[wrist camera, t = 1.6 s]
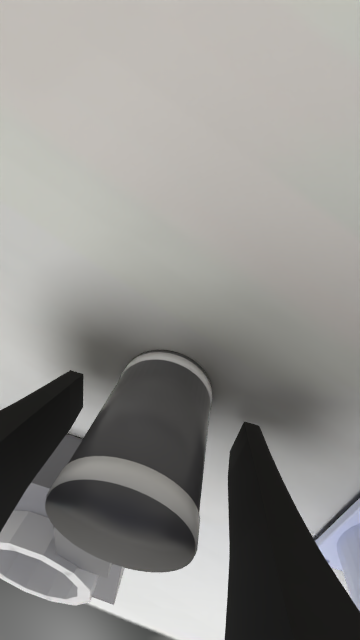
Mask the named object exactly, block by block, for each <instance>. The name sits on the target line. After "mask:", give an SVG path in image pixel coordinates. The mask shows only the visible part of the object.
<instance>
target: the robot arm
mask: <svg viewBox="0 0 360 640" xmlns="http://www.w3.org/2000/svg"><path fill="white" fill-rule="evenodd" d="M82 408H83V374H81V373H77V372H74V371H71V370H70V371H69V372H67V373H65V374H63V375H62V376H60V377H58V378H57V379H55V380H53V381H52V382H50V383H48V384H47V385H45V386H43V387H42V388H40V389H38V390H37V391H35V392H33V393H31V394H30V395H28V396H26V397H24V398H23V399H21V400H19V401H17V402H15V403H14V404H12V405H10V406H8V407H6V408H4V409H2V410H0V532H1V531H2V529H3V527H4V525H5V524H6V522H7V520H8V519H9V517H10V515H11V514H12V512H13V511H14V509H15V507H16V506H17V504H18V502H19V501H20V499H21V498H22V496H23V494H24V493H25V491H26V489H27V488H28V487H29V485H30V484H31V482H32V481H33V479H34V478H35V476H36V475H37V474H38V472H39V471H40V470H41V468H42V467H43V466H44V464H45V463H46V461H47V460H48V459H49V457H50V456H51V455H52V453H53V452H54V451H55V449H56V448H57V446H58V445H59V444H60V442H61V441H62V440H63V438H64V437H65V435H66V434H67V433H68V431H69V430H70V428H71V427H72V425H73V423H74V422H75V420H76V418H77V416H78V415H79V413H80V411H81V409H82ZM228 502H229V537H230V560H229V580H228V598H227V614H226V630H225V640H360V498H359V499H358V500H357V501H356V502H355V503H354V504H353V505H352V506H351V507H350V508H349V509H348V510H347V511H346V512H345V513H344V514H343V515H341V516H340V517H339V518H338V519H337V520H336V521H335V522H334V523H333V524H332V525H331V526H330V527H329V528H328V529H327V530H326V531H325V532H324V533H323V534H322V535H321V536H320V537H319V538H318V539H317V540H316V541H314V539H313V537H312V535H311V534H310V532H309V530H308V528H307V527H306V525H305V523H304V521H303V519H302V517H301V516H300V514H299V512H298V510H297V508H296V506H295V504H294V502H293V500H292V498H291V496H290V494H289V492H288V490H287V488H286V486H285V484H284V482H283V480H282V478H281V476H280V473H279V471H278V469H277V467H276V465H275V462H274V460H273V458H272V456H271V453H270V451H269V449H268V446H267V444H266V441H265V439H264V436H263V434H262V431H261V429H260V427H259V426H258V425H255V424H251V423H248V422H244V423H243V425H242V427H241V429H240V432H239V434H238V436H237V438H236V440H235V442H234V444H233V446H232V448H231V450H230V457H229V470H228ZM331 567H332V568H335V569H338V570H341V571H343V573H344V576H345V580H346V583H347V586H348V590H349V593H350V596H351V598H350V596H349V595H348V593H347V592H346V590H345V589H344V587H343V586H342V584H341V583H340V581H339V580H338V578H337V577H336V575H335V573H334V572H333V570H332V569H331Z"/></svg>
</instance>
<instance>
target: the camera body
mask: <svg viewBox="0 0 360 640" xmlns="http://www.w3.org/2000/svg"><path fill="white" fill-rule="evenodd" d="M82 440H83V439H81V438H78V437H75V436H72V435H69V434H66V435H65V437H64V438H63V440H62V441H61V442H60V444H59V445H58V446H57V448H56V449H55V451H54V452H53V453H52V455H51V456H50V457H49V459H48V460H47V461H46V463H45V464H44V466H43V467H42V468H41V470H40V471H39V472H38V474H37V475H36V476H35V478H34V479H33V481H32V482H31V484H30V485H29V487H28V488H27V489H26V491H25V493H24V494H23V496H22V498H21V499H20V501H19V502H18V504H17V506H16V507H15V509H14V511H13V512H12V514H11V515H10V517H9V519H8V520H7V522H6V524H5V525H4V527H3V529H2V531H1V532H0V578H1V579H3V580H4V581H6V582H8V583H10V584H12V585H14V586H15V587H17V588H19V589H21V590H23V591H25V592H27V593H30V594H33V595H36V596H38V597H41V598H44V599H46V600H49V601H53V602H58V603H64V604H70V605H79V604H83V603H88V602H90V600H91V597H94V598H97V599H99V600H102V601H105V602H108V603H110V604H113V605H114V603H115V599H116V596H117V592H118V589H119V585H120V582H121V578H122V575H123V571H124V568H125V567H121V566H118V565H115V564H112V563H109V562H106V561H104V560H102V559H99V558H97V557H95V556H93V555H91V554H89V553H87V552H85V551H84V550H82V549H80V548H79V547H77V546H76V545H74V544H73V543H71V542H70V541H69V540H67V539H66V538H65V537H64V536H63V535H62V534H61V533H60V532H59V531H58V530H57V529H56V528H55V527H54V526H53V524H52V523H51V521H50V520H49V518H48V516H47V514H46V510H45V502H46V496H47V493H48V492H49V490H50V488H51V487H52V485H53V484H54V482H55V480H56V479H57V477H58V476H59V474H60V472H61V471H62V469H63V468H64V467H65V466H66V465H67V464H68V463H69V461H70V459H71V458H72V456H73V454H74V453H75V451H76V450H77V448H78V446H79V445H80V443H81V442H82Z"/></svg>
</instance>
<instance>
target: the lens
mask: <svg viewBox="0 0 360 640" xmlns="http://www.w3.org/2000/svg"><path fill="white" fill-rule="evenodd" d="M211 404H212V389H211V384H210V381H209V378H208V376H207V375H206V373H205V372H204V370H203V369H202V368H201V367H200V366H199V365H198V364H197V363H196V362H194V361H193V360H192V359H190V358H188V357H186V356H184V355H182V354H179V353H176V352H173V351H167V350H154V351H148V352H145V353H143V354H140V355H139V356H137V357H136V358H134V359H133V360H132V361H131V362H130V363H129V364H128V365H127V367H126V368H125V370H124V371H123V373H122V375H121V376H120V379H119V382H118V383H117V385H116V386H115V388H114V390H113V391H112V393H111V394H110V396H109V398H108V399H107V401H106V403H105V404H104V406H103V407H102V409H101V411H100V412H99V414H98V416H97V417H96V419H95V420H94V422H93V424H92V425H91V427H90V429H89V430H88V432H87V433H86V435H85V437H84V438H83V440H82V442H81V443H80V445H79V446H78V448H77V450H76V451H75V453H74V454H73V456H72V458H71V459H70V461H69V463H68V464H67V465H66V466H65V467H64V468H63V469H62V471H61V472H60V474H59V476H58V477H57V479H56V480H55V482H54V484H53V485H52V487H51V488H50V490H49V492H48V493H47V496H46V502H45V510H46V514H47V516H48V518H49V520H50V521H51V523H52V524H53V526H54V527H55V528H56V529H57V530H58V531H59V532H60V533H61V534H62V535H63V536H64V537H65V538H66V539H67V540H69V541H70V542H71V543H73V544H74V545H76V546H77V547H79V548H80V549H82V550H84V551H85V552H87V553H89V554H91V555H93V556H95V557H97V558H99V559H102V560H104V561H106V562H109V563H112V564H115V565H118V566H121V567H125V568H128V569H133V570H138V571H145V572H170V571H175V570H178V569H181V568H183V567H185V566H187V565H188V564H189V563H190V562H191V561H192V559H193V558H194V556H195V554H196V551H197V545H198V535H199V525H200V516H199V509H200V499H201V489H202V480H203V470H204V461H205V451H206V442H207V432H208V422H209V413H210V410H211Z"/></svg>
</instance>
